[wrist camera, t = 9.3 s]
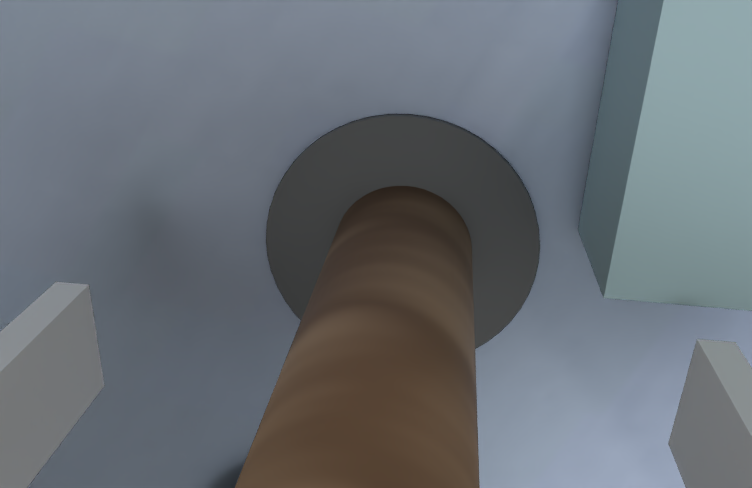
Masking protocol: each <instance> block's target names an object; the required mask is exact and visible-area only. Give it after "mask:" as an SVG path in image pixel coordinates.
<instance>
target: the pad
mask: <svg viewBox="0 0 752 488" xmlns="http://www.w3.org/2000/svg"><path fill="white" fill-rule="evenodd" d="M391 186H411V187H417V188H421V189H425V190H427V191H430V192H432V193H434V194H436V195H438V196H440V197H442V198H443V199H444V200H446V201H447V202H448V203H450V204H451V205H452V206H453V207H454V208H455V209H456V210H457V212H458V213H459V214H460V215H461V217H462V219H463V220H464V222H465V224H466V226H467V228H468V231H469V234H470V238H471V245H472V270H473V302H474V333H475V349H476V348H478V347H479V346H481V345H483V344H485V343H486V342H488V341H489V340H490V339H492V338H493V337H494V336H496V335H497V334H498V333H499V332H501V331H502V330H503V329H504V328H505V327H506V326H507V325H508V324H509V323H510V322H511V321H512V319H513V318H514V317H515V315H516V314H517V313H518V311H519V310H520V309H521V307H522V305H523V304H524V302H525V300H526V298H527V297H528V295H529V293H530V290H531V287H532V285H533V282H534V280H535V276H536V272H537V267H538V263H539V251H540V241H539V228H538V224H537V219H536V215H535V211H534V207H533V205H532V202H531V199H530V197H529V194H528V192H527V190H526V188H525V186H524V185H523V183H522V181H521V179H520V177H519V176H518V175H517V173H516V172H515V171H514V169H513V168H512V167H511V165H510V164H509V163H508V162H507V161H506V160H505V159H504V158H503V157H502V156H501V155H500V154H499V153H498V152H497V151H496V150H495V149H494V148H493V147H491V146H490V145H489V144H487V143H486V142H485V141H483V140H482V139H481V138H479V137H477V136H476V135H474V134H472V133H470V132H469V131H467V130H465V129H463V128H461V127H458V126H456V125H453V124H451V123H448V122H446V121H442V120H438V119H434V118H431V117H426V116H418V115H411V114H387V115H380V116H372V117H368V118H364V119H360V120H356V121H353V122H350V123H348V124H345V125H343V126H341V127H338V128H336V129H334V130H332V131H331V132H329V133H327V134H326V135H324V136H322V137H320V138H319V139H318V140H317V141H315V142H314V143H313V144H311V145H310V146H309V147H308V148H306V149H305V151H304V152H303V153H302V154H301V155H300V156H299V157H298V158H297V159H296V160H295V161H294V162H293V164H292V165H291V167H290V168H289V170H288V171H287V172H286V174H285V175H284V177H283V178H282V180H281V182H280V184H279V186H278V188H277V190H276V192H275V194H274V197H273V200H272V203H271V206H270V209H269V214H268V220H267V229H266V245H267V254H268V260H269V264H270V268H271V272H272V274H273V277H274V279H275V282H276V285H277V287H278V289H279V291H280V292H281V294H282V296H283V298H284V300H285V301H286V303H287V304H288V305H289V307H290V308H291V309H292V311H293V312H294V314H295V315H296V316H297V317H298V318H299V319H300V320H302V317H303V315H304V312H305V310H306V307H307V305H308V302H309V300H310V297H311V295H312V292H313V290H314V287H315V284H316V282H317V279H318V277H319V274H320V272H321V269H322V267H323V264H324V262H325V259H326V257H327V254H328V252H329V249H330V247H331V244H332V242H333V239H334V237H335V234H336V232H337V229H338V227H339V224H340V222H341V220H342V218H343V216H344V214H345V213H346V212H347V211H348V209H349V208H350V207H351V206H352V205H353V204H354V203H355V202H356V201H357V200H359V199H360V198H362V197H363V196H365V195H367V194H368V193H370V192H373V191H375V190H378V189H381V188H385V187H391Z"/></svg>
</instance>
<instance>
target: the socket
mask: <svg viewBox="0 0 752 488" xmlns="http://www.w3.org/2000/svg"><path fill="white" fill-rule="evenodd" d="M578 231H579V234H580V236H581V239H582V242H583V244H584V247H585V250H586V252H587V255H588V258H589V260H590V263H591V266H592V268H593V271H594V274H595V276H596V279H597V282H598V284H599V287H600V290H601V292H602V295H603V298H607V299H619V300H631V301H642V302H654V303H666V304H677V305H689V306H701V307H713V308H724V309H736V310H748V311H752V0H618V4H617V10H616V16H615V21H614V27H613V33H612V38H611V44H610V50H609V55H608V61H607V67H606V73H605V78H604V84H603V90H602V95H601V101H600V107H599V112H598V118H597V124H596V129H595V135H594V141H593V147H592V152H591V158H590V164H589V169H588V175H587V181H586V186H585V192H584V198H583V204H582V209H581V215H580V221H579V226H578Z"/></svg>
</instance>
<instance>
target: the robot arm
mask: <svg viewBox="0 0 752 488" xmlns="http://www.w3.org/2000/svg"><path fill="white" fill-rule="evenodd" d="M103 387H104V379H103V373H102V366H101V360H100V353H99V347H98V340H97V334H96V327H95V321H94V314H93V308H92V301H91V295H90V288H89V285H87V284H76V283H65V282H55V283H54V284H53V285H52V286H51V287H50V288H49V289H47V290H46V291H45V292H44V293H43V294H42V295H41V296H40V297H39V298H37V299H36V300H35V301H34V302H33V303H32V304H31V305H30V306H28V307H27V308H26V309H25V310H24V311H23V312H22V313H21V314H20V315H18V316H17V317H16V318H15V319H14V320H13V321H12V322H11V323H10V324H8V325H7V326H6V327H5V328H4V329H3V330H2V331H1V332H0V488H27V487H28V486H29V485H30V483H31V482H32V481H33V479H34V478H35V477H36V475H37V474H38V473H39V471H40V470H41V469H42V468H43V466H44V465H45V464H46V462H47V461H48V460H49V458H50V457H51V456H52V454H53V453H54V452H55V450H56V449H57V448H58V447H59V445H60V444H61V443H62V441H63V440H64V439H65V437H66V436H67V435H68V433H69V432H70V431H71V429H72V428H73V427H74V426H75V424H76V423H77V422H78V420H79V419H80V418H81V416H82V415H83V414H84V412H85V411H86V410H87V408H88V407H89V406H90V404H91V403H92V402H93V401H94V399H95V398H96V397H97V395H98V394H99V393H100V391H101V390H102V389H103ZM668 444H669V446H670V449H671V451H672V454H673V456H674V459H675V461H676V464H677V467H678V469H679V472H680V474H681V477H682V479H683V482H684V484H685V487H686V488H752V368H751V366H750V364H749V363H748V361H747V360H746V358H745V357H744V355H743V354H742V352H741V350H740V349H739V347H738V346H737V344H736V343H735V342H725V341H714V340H703V339H697V341H696V344H695V348H694V352H693V355H692V359H691V363H690V366H689V370H688V374H687V377H686V381H685V384H684V388H683V392H682V395H681V399H680V403H679V406H678V410H677V414H676V417H675V421H674V425H673V428H672V432H671V436H670V439H669V443H668Z"/></svg>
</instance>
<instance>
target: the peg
mask: <svg viewBox="0 0 752 488" xmlns="http://www.w3.org/2000/svg"><path fill="white" fill-rule="evenodd" d="M235 488H479V459H478V428H477V396H476V365H475V333H474V302H473V270H472V245H471V238H470V234H469V231H468V228H467V226H466V224H465V222H464V220H463V219H462V217H461V215H460V214H459V213H458V212H457V210H456V209H455V208H454V207H453V206H452V205H451V204H450V203H448V202H447V201H446V200H444V199H443V198H442V197H440V196H438V195H436V194H434V193H432V192H430V191H427V190H425V189H421V188H417V187H411V186H391V187H385V188H381V189H378V190H375V191H373V192H370V193H368V194H367V195H365V196H363V197H362V198H360V199H359V200H357V201H356V202H355V203H354V204H353V205H352V206H351V207H350V208H349V209H348V211H347V212H346V213H345V214H344V216H343V218H342V220H341V222H340V224H339V227H338V229H337V232H336V234H335V237H334V239H333V242H332V244H331V247H330V249H329V252H328V254H327V257H326V259H325V262H324V264H323V267H322V269H321V272H320V274H319V277H318V279H317V282H316V284H315V287H314V290H313V292H312V295H311V297H310V300H309V302H308V305H307V307H306V310H305V312H304V315H303V317H302V320H301V322H300V325H299V327H298V330H297V332H296V335H295V337H294V340H293V342H292V345H291V347H290V350H289V352H288V355H287V357H286V360H285V363H284V365H283V368H282V370H281V373H280V375H279V378H278V380H277V383H276V385H275V388H274V390H273V393H272V395H271V398H270V400H269V403H268V405H267V408H266V410H265V413H264V415H263V418H262V420H261V423H260V425H259V428H258V430H257V433H256V436H255V438H254V441H253V443H252V446H251V448H250V451H249V453H248V456H247V458H246V461H245V463H244V466H243V468H242V471H241V473H240V476H239V478H238V481H237V483H236V486H235Z"/></svg>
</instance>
